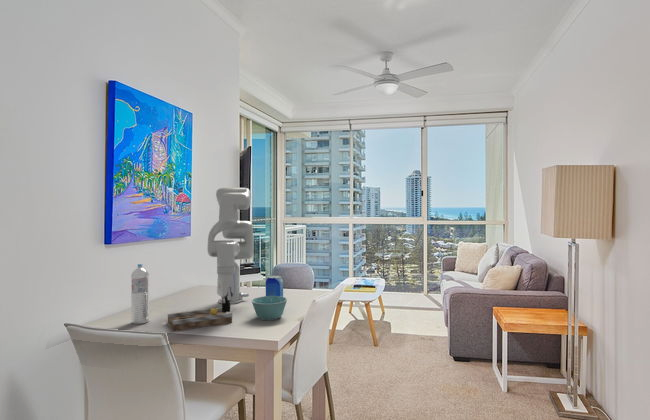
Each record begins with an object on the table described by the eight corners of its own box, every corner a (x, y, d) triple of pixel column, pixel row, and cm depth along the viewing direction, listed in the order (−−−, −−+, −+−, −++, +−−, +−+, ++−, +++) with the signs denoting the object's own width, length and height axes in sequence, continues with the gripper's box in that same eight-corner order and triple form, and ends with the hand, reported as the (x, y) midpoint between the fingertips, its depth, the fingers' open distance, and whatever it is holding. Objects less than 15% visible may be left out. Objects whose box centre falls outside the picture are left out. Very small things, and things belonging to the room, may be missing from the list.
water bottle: (134, 320, 183) (134, 263, 183) (150, 320, 184) (150, 263, 184) (128, 324, 176) (128, 265, 176) (145, 324, 177) (145, 265, 177)
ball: (216, 314, 184) (216, 306, 184) (218, 315, 181) (218, 308, 181) (209, 315, 182) (209, 307, 182) (211, 316, 180) (211, 309, 180)
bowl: (272, 324, 177) (271, 304, 177) (244, 319, 185) (244, 300, 185) (294, 316, 190) (294, 298, 190) (267, 312, 198) (267, 294, 198)
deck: (223, 316, 190) (223, 307, 190) (232, 322, 179) (232, 313, 179) (167, 323, 178) (167, 313, 178) (173, 330, 167) (173, 320, 167)
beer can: (286, 308, 205) (286, 275, 205) (277, 312, 197) (277, 278, 197) (271, 306, 208) (271, 274, 208) (262, 310, 201) (262, 277, 201)
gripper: (212, 268, 189) (212, 309, 189) (222, 273, 176) (222, 316, 176) (229, 267, 193) (229, 307, 193) (239, 271, 180) (239, 314, 180)
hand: (226, 311), depth 185 cm, fingers closed
